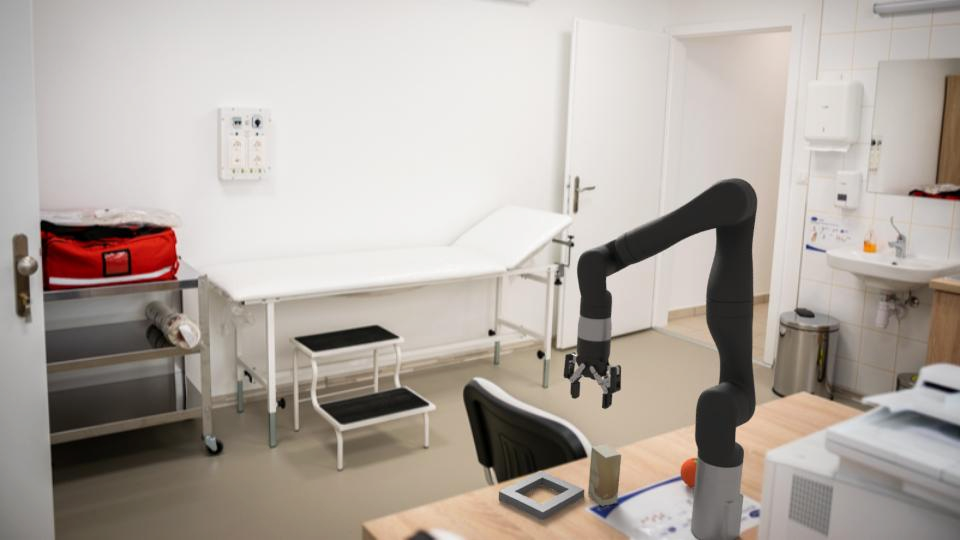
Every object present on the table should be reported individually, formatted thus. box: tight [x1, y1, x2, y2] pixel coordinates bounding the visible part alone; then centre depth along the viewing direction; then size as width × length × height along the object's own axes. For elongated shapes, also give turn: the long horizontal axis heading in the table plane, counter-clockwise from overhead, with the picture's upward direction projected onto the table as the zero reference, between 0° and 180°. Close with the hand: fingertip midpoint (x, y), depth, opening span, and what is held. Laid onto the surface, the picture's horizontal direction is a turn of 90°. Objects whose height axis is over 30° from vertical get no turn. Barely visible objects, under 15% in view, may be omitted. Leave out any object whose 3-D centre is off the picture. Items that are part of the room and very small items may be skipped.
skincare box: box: [587, 443, 622, 507], centre depth 181 cm, size 6×4×12 cm
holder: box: [498, 470, 585, 521], centre depth 182 cm, size 13×15×2 cm
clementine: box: [679, 457, 697, 489], centre depth 189 cm, size 8×7×7 cm
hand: (590, 402), depth 181 cm, fingers open, 8 cm apart
